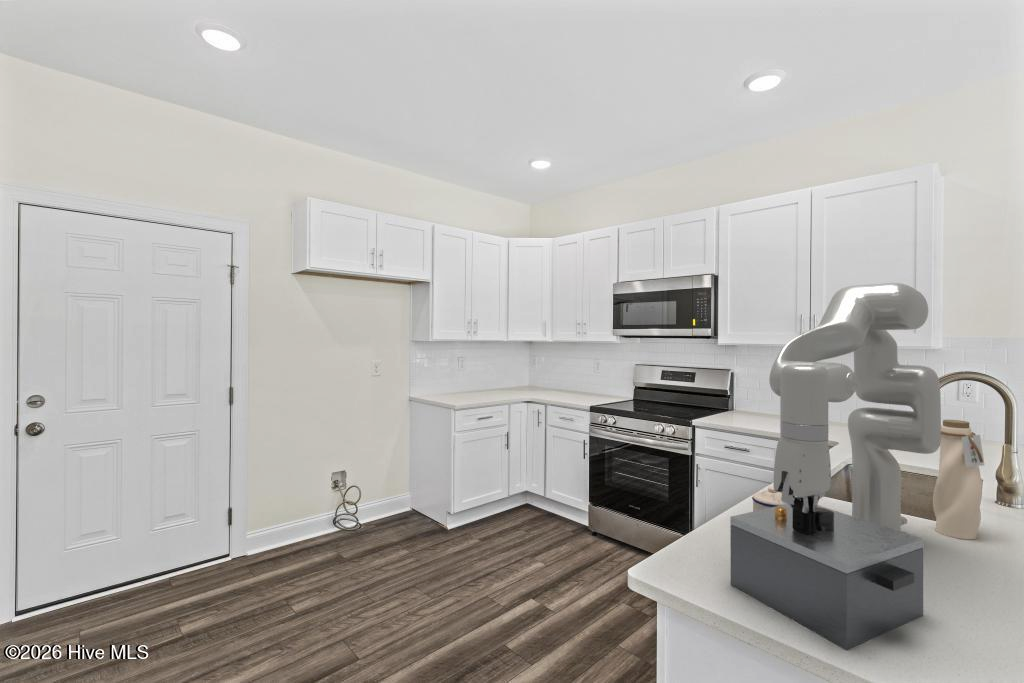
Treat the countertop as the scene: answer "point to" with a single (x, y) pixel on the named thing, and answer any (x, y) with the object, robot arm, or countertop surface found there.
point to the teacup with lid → (767, 499)
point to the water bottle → (958, 481)
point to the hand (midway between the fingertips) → (803, 531)
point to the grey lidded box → (829, 589)
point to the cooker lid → (830, 537)
